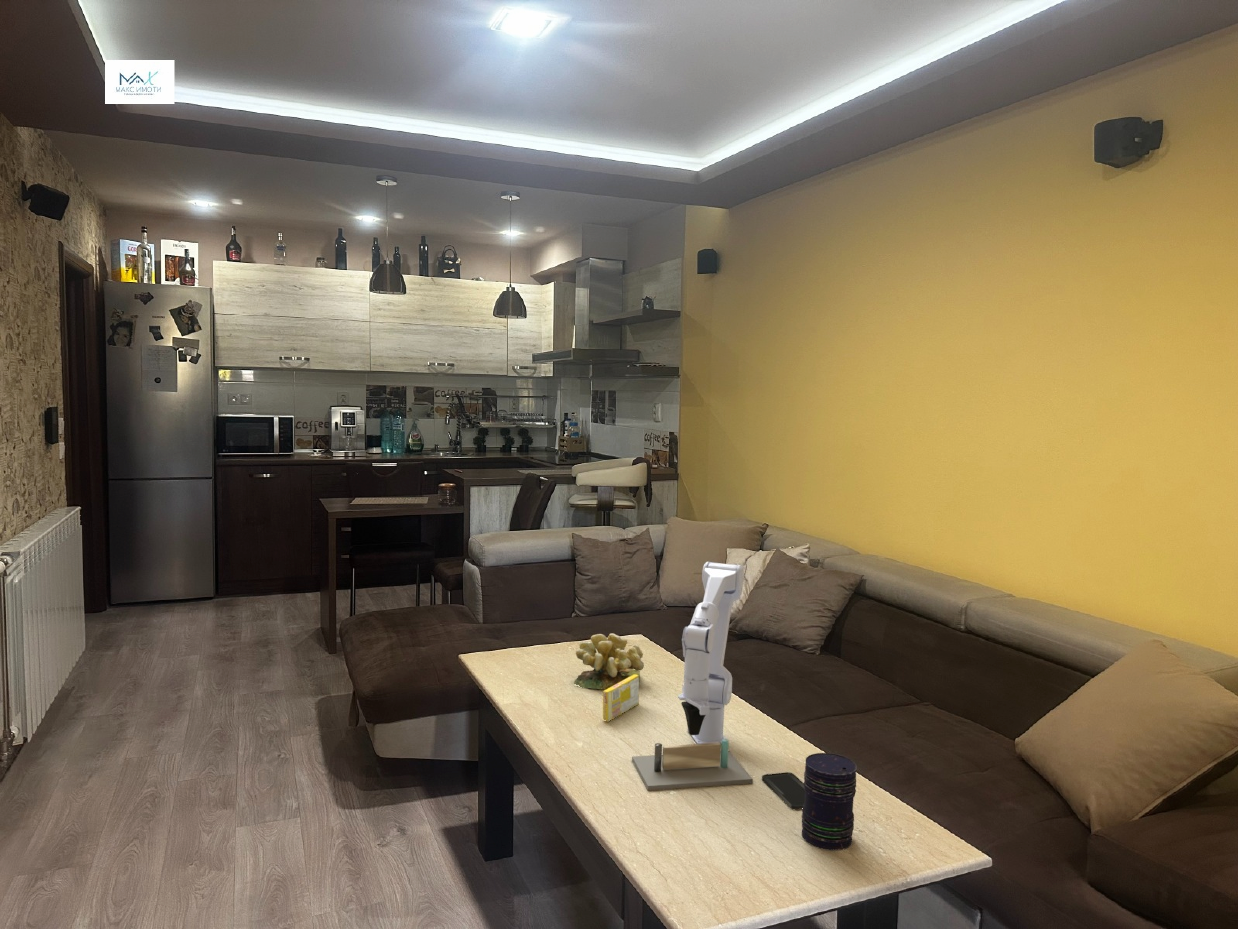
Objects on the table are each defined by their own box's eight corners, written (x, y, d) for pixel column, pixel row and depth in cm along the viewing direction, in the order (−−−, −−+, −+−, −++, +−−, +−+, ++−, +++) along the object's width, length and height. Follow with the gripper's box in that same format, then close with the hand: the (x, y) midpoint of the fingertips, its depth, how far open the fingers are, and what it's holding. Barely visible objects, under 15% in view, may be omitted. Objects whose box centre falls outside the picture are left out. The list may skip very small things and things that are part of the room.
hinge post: (653, 773, 189) (654, 743, 189) (659, 773, 190) (661, 743, 189) (654, 776, 188) (656, 746, 187) (661, 776, 188) (662, 746, 188)
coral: (559, 679, 256) (556, 634, 252) (627, 662, 265) (624, 618, 261) (583, 706, 239) (579, 657, 236) (654, 686, 248) (651, 639, 245)
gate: (662, 767, 189) (662, 746, 189) (718, 764, 192) (719, 742, 192) (663, 769, 188) (664, 748, 188) (719, 766, 191) (720, 744, 191)
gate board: (631, 760, 196) (632, 756, 196) (729, 754, 201) (729, 750, 201) (647, 790, 181) (647, 786, 181) (752, 783, 186) (752, 779, 186)
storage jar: (790, 836, 164) (794, 762, 163) (818, 819, 171) (822, 748, 170) (835, 857, 157) (840, 779, 156) (862, 839, 164) (867, 765, 163)
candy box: (632, 702, 233) (633, 673, 233) (639, 704, 232) (640, 675, 231) (601, 721, 219) (602, 690, 219) (608, 723, 218) (609, 691, 218)
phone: (791, 771, 191) (825, 803, 177) (791, 776, 191) (825, 808, 177) (759, 775, 189) (791, 806, 174) (759, 780, 189) (791, 812, 175)
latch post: (719, 769, 193) (720, 739, 192) (725, 769, 193) (727, 739, 192) (721, 772, 191) (722, 742, 191) (728, 772, 191) (729, 742, 191)
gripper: (671, 667, 201) (668, 722, 202) (688, 688, 187) (686, 747, 188) (699, 666, 202) (696, 721, 203) (719, 687, 188) (716, 746, 189)
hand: (693, 734), depth 196 cm, fingers closed
